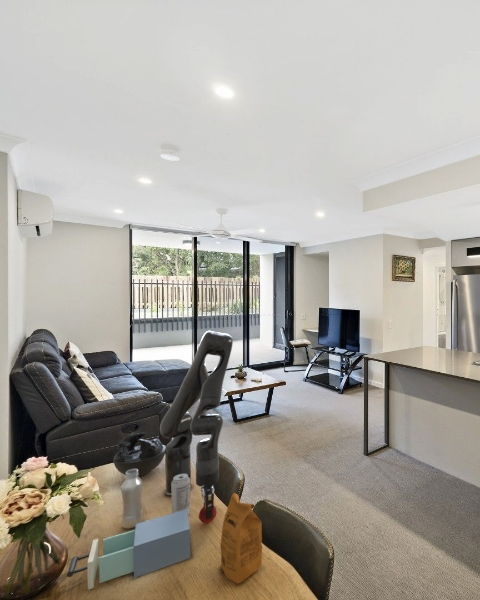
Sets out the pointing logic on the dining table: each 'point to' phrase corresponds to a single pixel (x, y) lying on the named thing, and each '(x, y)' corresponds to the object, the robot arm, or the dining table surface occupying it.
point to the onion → (202, 515)
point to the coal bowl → (138, 454)
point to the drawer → (108, 558)
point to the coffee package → (240, 541)
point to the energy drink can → (180, 493)
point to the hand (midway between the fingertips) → (208, 513)
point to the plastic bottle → (132, 499)
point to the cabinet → (161, 542)
